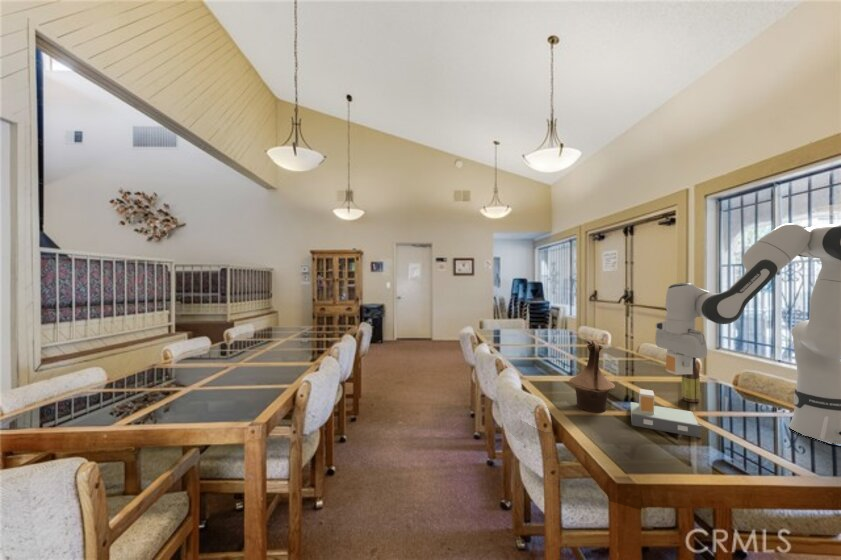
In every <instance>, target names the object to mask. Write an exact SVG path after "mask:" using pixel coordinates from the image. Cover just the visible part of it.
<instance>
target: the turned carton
mask: <svg viewBox="0 0 841 560" xmlns="http://www.w3.org/2000/svg"><path fill="white" fill-rule="evenodd" d="M684 360H685V358H684V354H681V353H677V352H667V351H666V358H665V361H666V362H665V371H666V372H667V373H669V374H670V373H671V374H672V375H675V376H676V375H677V376H678V375H682V374H693V359H692V360H691V362H690V367H684V366H682V361H684Z"/></svg>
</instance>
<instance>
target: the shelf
mask: <svg viewBox="0 0 841 560" xmlns="http://www.w3.org/2000/svg"><path fill="white" fill-rule="evenodd" d="M629 405H630V409H629V410H630V419H631V420H630V421H631V426H635V427H639V428H646V429H649V430H656V431H662V432H666V433H667V432H668V433H672V434H676V435H677V434H678V435H683V436H689V437H694V438H699V439H700V438H702V425H701V424H699V422H698V421H697V419H696V416H695V415H694V413H693V411H692V410H691V411H689V410H683V409H678V408H672V407H665V406H659V405H654V414H648V413H642V412H640V410H639V402H632V401H630V404H629Z"/></svg>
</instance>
